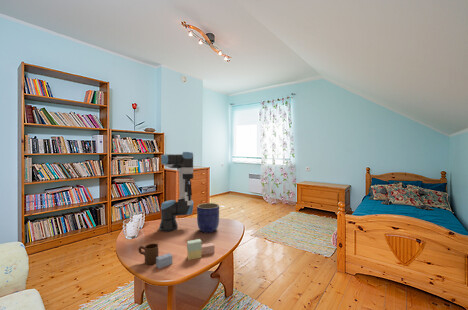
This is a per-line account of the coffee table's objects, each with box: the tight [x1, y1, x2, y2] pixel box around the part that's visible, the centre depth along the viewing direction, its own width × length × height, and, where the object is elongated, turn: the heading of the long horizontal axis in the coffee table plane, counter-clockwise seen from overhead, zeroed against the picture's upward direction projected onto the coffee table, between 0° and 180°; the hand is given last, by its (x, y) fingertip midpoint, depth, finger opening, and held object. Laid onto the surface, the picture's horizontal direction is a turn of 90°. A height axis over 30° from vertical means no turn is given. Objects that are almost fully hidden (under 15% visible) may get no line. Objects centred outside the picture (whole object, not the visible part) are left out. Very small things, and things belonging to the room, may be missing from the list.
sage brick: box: [186, 238, 203, 252], centre depth 130 cm, size 8×4×5 cm, turn 115°
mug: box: [138, 243, 159, 266], centre depth 125 cm, size 12×8×9 cm, turn 83°
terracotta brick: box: [201, 242, 215, 256], centre depth 137 cm, size 8×4×5 cm, turn 110°
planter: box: [196, 202, 220, 234], centre depth 175 cm, size 18×18×21 cm
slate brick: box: [155, 252, 173, 269], centre depth 122 cm, size 8×4×5 cm, turn 131°
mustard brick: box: [186, 249, 202, 261], centre depth 131 cm, size 8×4×5 cm, turn 108°
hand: (188, 202), depth 151 cm, fingers open, 13 cm apart
